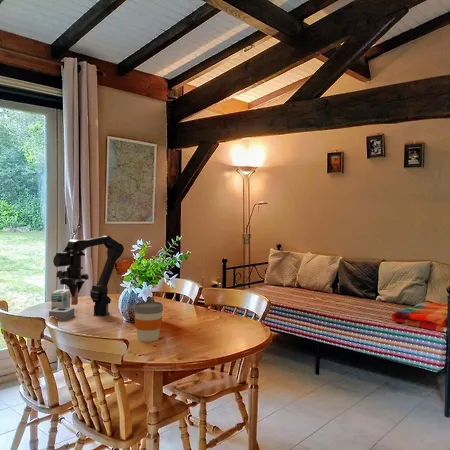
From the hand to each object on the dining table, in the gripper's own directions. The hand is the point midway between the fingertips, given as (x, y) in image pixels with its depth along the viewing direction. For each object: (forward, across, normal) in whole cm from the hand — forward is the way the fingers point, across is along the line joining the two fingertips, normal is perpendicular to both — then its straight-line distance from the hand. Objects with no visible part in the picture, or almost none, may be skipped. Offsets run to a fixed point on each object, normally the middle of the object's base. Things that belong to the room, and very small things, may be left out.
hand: (74, 296), depth 217 cm
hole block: (+12, -4, -9) cm, 16 cm away
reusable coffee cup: (+12, +22, +45) cm, 52 cm away
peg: (+4, 0, 0) cm, 4 cm away
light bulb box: (+12, -18, -17) cm, 28 cm away
